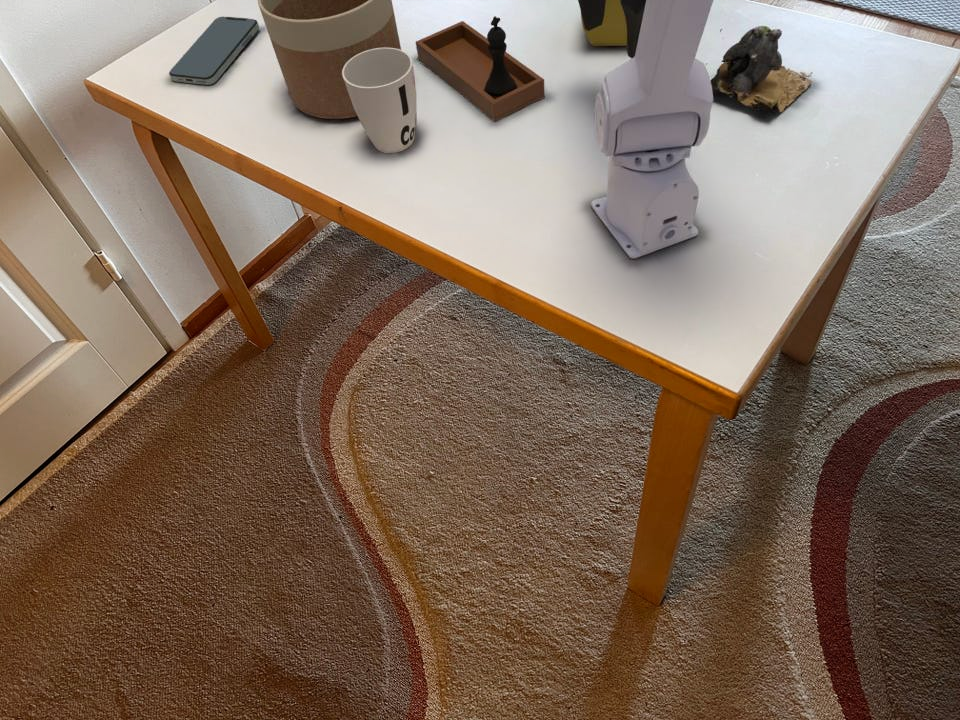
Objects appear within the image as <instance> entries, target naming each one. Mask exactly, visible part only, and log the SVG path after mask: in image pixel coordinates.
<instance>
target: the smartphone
mask: <svg viewBox="0 0 960 720" xmlns="http://www.w3.org/2000/svg"><path fill="white" fill-rule="evenodd" d="M259 29H260V25H259V23H258V20H256V19H255V18H248V17H236V16H235V17H234V16H218V17H217V18H215V19H214V20H213V21H212V22H211V23H210V24H209V25H208V27H207V28H206V29H205V30H204V31H203V32H202V34H201V35H200V36H199V37H198V38H197V39H196V41H194V43H192V45H191V46H190V47H189V48H188V49H187V51H185V53H184V54H183V55H182V57H180V59H179V60H178V61H177V62H176V64H174V65H173V67H172V68H171V69H170V71H169V72H168V75H169V77H170V79H171V80H172V81H173V82H178V83H187V84H194V85H195V84H196V85H204V86H211V85H214V84H216V83H217V82H218V80H219V79H220V78H221V76H222V75H223V74H224V73H225V72H226V70H227V69H228V68H229V66H230V65H231V64H232V63H233V62H234V60H236V58H237V56H238V55H239V54H240V53H241V52H242V50H244V48H245V47H246V45H247V44H248V43H249V42H250V40H251V39H252V38H253V37H254V36H255V35H256V33H257V32H258V31H259Z"/></svg>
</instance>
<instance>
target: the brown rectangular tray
mask: <svg viewBox="0 0 960 720" xmlns="http://www.w3.org/2000/svg"><path fill="white" fill-rule="evenodd" d="M488 45H489V41H488V40H487V36H485V35H483V34H481V33H480V32H479V31H478V30H476V29H475V28H473V27H472V26H470V25H469V24H468V23H466V21H464V20H462V21H459V22H457V23H455V24H453V25H450V26H448V27H446V28H443V29H440V30H439V31H436V32H433V33H432V34H429V35H428V36H425V37H423V38H420V39H419V40H416V41H415V47H416V53H417V60H419V61H420V62H421V63H422V64H424V65H425V66H426V67H428V68H429V69H430V70H431V71H432V72H434V74H436V75H437V76H438V77H440V78H441V79H442V80H443V81H444V82H446V83H447V84H448V85H449V86H450V87H452V88H453V89H454V90H455V91H457V92H458V93H459V94H460V95H461V96H463V97H464V98H465V99H466V100H468V101H469V102H470V103H471V104H472V105H474V106H475V107H476V108H477V109H479V110H480V111H481V112H482V113H484V114H485V115H486V116H487V117H489V118H490V119H491V120H492V121H493V122H495V123H496V122H498V121H499V120H502V119H504V118H506V117H507V116H510V115H512V114H513V113H515V112H518V111H521V110H522V109H524V108H526V107H528V106H530V105H532V104H534V103H536V102H538V101H540V100H542V99H544V98H545V95H546V94H545V79H544V78H543V77H541V76H540V75H539V74H538V73H536V72H535V71H533V70H532V69H530V68H529V67H527V65H526V64H523V63H522V62H521V61H519V60H518V59H517V58H515V57H514V56H513V55H511V54H509V53H508V52H507V51H505V54H504V64H505V67H506V68H507V70H508V72H509V73H510V75H511V77H512V78H513V79H514V81H515V83H516V84H517V87H518V88H517V89H515V90H513V91H511V92H509V93H507V94H505V95H503V96H501V97H499V98H497V99H494V98H492V97H491V96H490V95H488V94H487V93H486V92H485V91H484V88H485V85H486V82H487V80H488V78H489V76H490V73H491V71H492V68H493V58H492V55H491V54H490V52H489V50H488Z"/></svg>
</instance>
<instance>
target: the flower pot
mask: <svg viewBox="0 0 960 720" xmlns="http://www.w3.org/2000/svg"><path fill="white" fill-rule="evenodd" d="M620 1H621V0H606V4H605V13H604V19H603V23H602V25H601V26H598V27H596V28H594V29H592V30H590V31H587V30H586V29H585V27H584V23H583V19H582V14H581V13H580V19H581V24H582V29H583V32H584V34H585V36H586V38H587V40H588V41H589V43H590V44H591V45H592V46H594V47H611V46H612V47H615V46H616V47H617V46H618V47H620V46H622V47H623V46H624V47H627V25H626V19H625V14H624V11H623V8H622V5H621V3H620Z"/></svg>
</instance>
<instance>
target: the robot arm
mask: <svg viewBox="0 0 960 720" xmlns="http://www.w3.org/2000/svg"><path fill="white" fill-rule="evenodd" d="M577 2H578V5H579V9H580V15H581V14H582V19H583V23H584V27H585V29H586V30H587V31H590V30H592V29H594V28H596V27H598V26H601V25H602V23H603V19H604V13H605V4H606V0H577ZM620 3H621V5H622V8H623V11H624V14H625V19H626V25H627V46H626V53H627V57H629V58H630V59H629V60H627V61H625V62H624V63H622V64H621V65H619V66H617V67H615V68H614V69H612V70H611V71H609V72H607V73H606V74H605V75H604V78H603V79H604V80H603V82H602V83H601V85H600V86H601V87H600V90H599V91H598V93H597V94H596V97H595V104H594V124H595V134H596V140H597V141H596V143H597V146H598V149H599V151H600V152H601V153H602V154H603V155H604V156H605V157H607V158H608V157H609V158H608V174H607V176H608V177H607V188H606V189H607V190H606V196H603V197H599V198H596V199H594V200H592V201H591V202H590V207H591V208H592V210H593V211H594V212H595V214H596V215H597V217H598V218H599V220H601V221H602V223H603V224H604V226H605V227H606V228H607V229H608V231H609V232H610V233H611V235H612V236H613V238H615V240H616V241H617V243H618V244H619V245H620V247H621V248H622V249H623V251H624V252H625V253H626V254H627V257H629V258H630V259H638V258H640V257H643V256H645V255H649V254H651V253H653V252H656V251H659V250H662V249H664V248H667V247H670V246H672V245H675V244H678V243H681V242H683V241H686V240H689V239H691V238H694V237H696V236H698V234H699V229H698V228H697V227H696V225H694V221H695V217H696V211H697V208H698V207H697V206H698V201H699V197H700V196H699V195H700V191H699V187H698V185H697V183H696V182H695V180H694V179H693V177H692V176H691V174H690V172H689V170H688V167H687V162H686V159H689V158H690V156H691V152H692V147H693V148H694V147H700V146H701V144H702V143H703V142H704V140H705V139H706V138H707V135H708V132H709V129H710V123H711V112H712V111H711V110H712V107H713V104H714V94H713V89H712V86H711V81H710V80H711V76H710V75H709V71H708V69H707V67H706V64H705V63H704V62H703V61H701V60H699V59H697V58H696V56H697V53H698V50H699V47H700V43H701V41H702V37H703V34H704V31H705V28H706V25H707V21H708V19H709V15H710V12H711V10H712V6H713V4H714V0H621V1H620Z"/></svg>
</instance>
